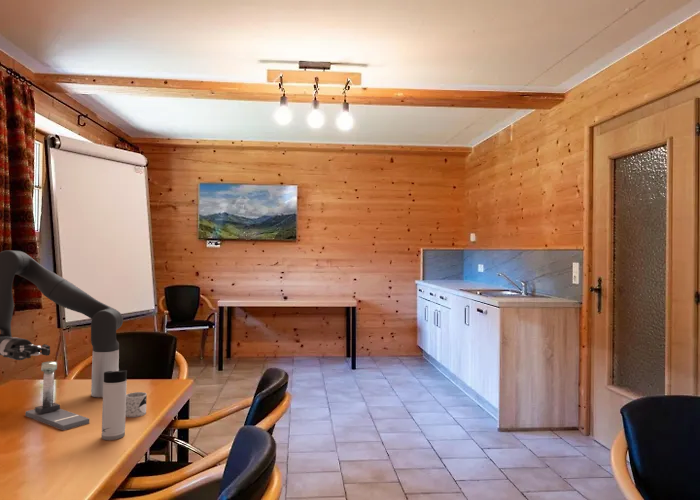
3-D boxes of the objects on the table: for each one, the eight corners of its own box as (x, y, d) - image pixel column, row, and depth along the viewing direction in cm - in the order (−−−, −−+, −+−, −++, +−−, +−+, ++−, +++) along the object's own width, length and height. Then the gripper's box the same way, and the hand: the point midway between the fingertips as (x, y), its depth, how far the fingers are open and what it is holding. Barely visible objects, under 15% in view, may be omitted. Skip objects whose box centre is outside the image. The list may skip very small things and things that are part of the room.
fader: (34, 411, 155) (36, 363, 156) (53, 407, 160) (55, 360, 161) (41, 414, 153) (43, 365, 154) (60, 409, 158) (62, 362, 159)
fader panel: (25, 415, 156) (25, 411, 156) (50, 409, 163) (50, 405, 163) (63, 430, 144) (63, 425, 144) (89, 423, 151) (89, 418, 151)
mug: (143, 416, 158) (144, 397, 158) (122, 417, 157) (123, 397, 157) (149, 407, 168) (150, 389, 168) (130, 408, 166) (130, 389, 167)
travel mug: (101, 442, 135) (103, 372, 136) (101, 434, 141) (103, 368, 142) (125, 438, 138) (127, 371, 139) (124, 431, 144) (126, 366, 145)
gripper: (-7, 340, 164) (16, 345, 155) (37, 335, 176) (61, 340, 167) (-8, 361, 163) (15, 368, 155) (36, 355, 176) (60, 361, 167)
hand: (39, 353), depth 161 cm, fingers open, 5 cm apart
